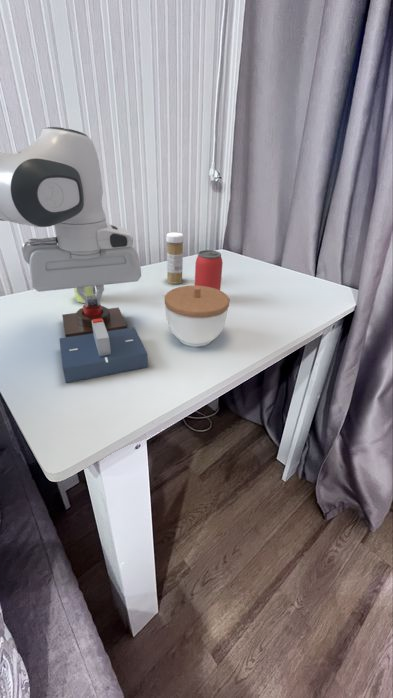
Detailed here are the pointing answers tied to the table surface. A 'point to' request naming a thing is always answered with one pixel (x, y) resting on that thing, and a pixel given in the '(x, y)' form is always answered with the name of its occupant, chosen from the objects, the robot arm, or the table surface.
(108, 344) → the grey rectangular block
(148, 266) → the table surface
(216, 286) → the beer can
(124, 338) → the panel
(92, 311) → the button
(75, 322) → the button block
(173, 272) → the sprinkles bottle
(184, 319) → the lidded bowl
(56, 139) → the robot arm
